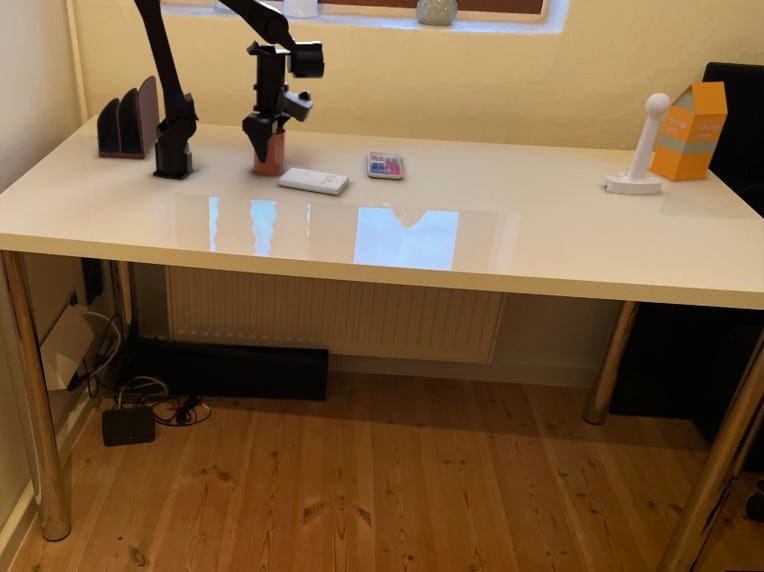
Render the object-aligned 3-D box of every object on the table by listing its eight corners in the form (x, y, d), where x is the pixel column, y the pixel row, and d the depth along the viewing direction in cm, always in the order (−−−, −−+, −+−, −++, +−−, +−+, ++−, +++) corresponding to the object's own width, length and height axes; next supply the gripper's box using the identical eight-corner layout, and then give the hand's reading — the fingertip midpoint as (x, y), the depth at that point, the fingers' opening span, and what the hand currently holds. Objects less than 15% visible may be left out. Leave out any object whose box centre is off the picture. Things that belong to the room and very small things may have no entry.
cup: (249, 173, 154) (250, 132, 150) (259, 163, 159) (259, 124, 155) (279, 177, 153) (280, 136, 148) (287, 167, 158) (289, 127, 154)
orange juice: (649, 169, 169) (677, 78, 158) (680, 167, 171) (710, 77, 160) (673, 181, 162) (704, 87, 151) (705, 178, 165) (738, 86, 154)
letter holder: (161, 133, 175) (157, 70, 167) (144, 160, 158) (139, 92, 150) (119, 130, 175) (113, 68, 167) (98, 157, 158) (91, 89, 150)
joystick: (610, 193, 154) (639, 95, 143) (597, 181, 160) (623, 85, 149) (661, 194, 155) (693, 97, 144) (646, 182, 161) (675, 87, 150)
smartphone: (400, 153, 167) (403, 176, 154) (399, 157, 167) (402, 180, 155) (367, 151, 167) (367, 173, 154) (367, 155, 167) (367, 177, 155)
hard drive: (292, 174, 155) (348, 183, 152) (278, 186, 148) (337, 196, 145) (292, 166, 154) (349, 175, 151) (278, 178, 148) (337, 188, 144)
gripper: (298, 93, 137) (294, 175, 145) (320, 73, 152) (316, 147, 161) (241, 87, 139) (241, 168, 147) (269, 67, 154) (267, 141, 163)
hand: (269, 156), depth 155 cm, fingers open, 9 cm apart
